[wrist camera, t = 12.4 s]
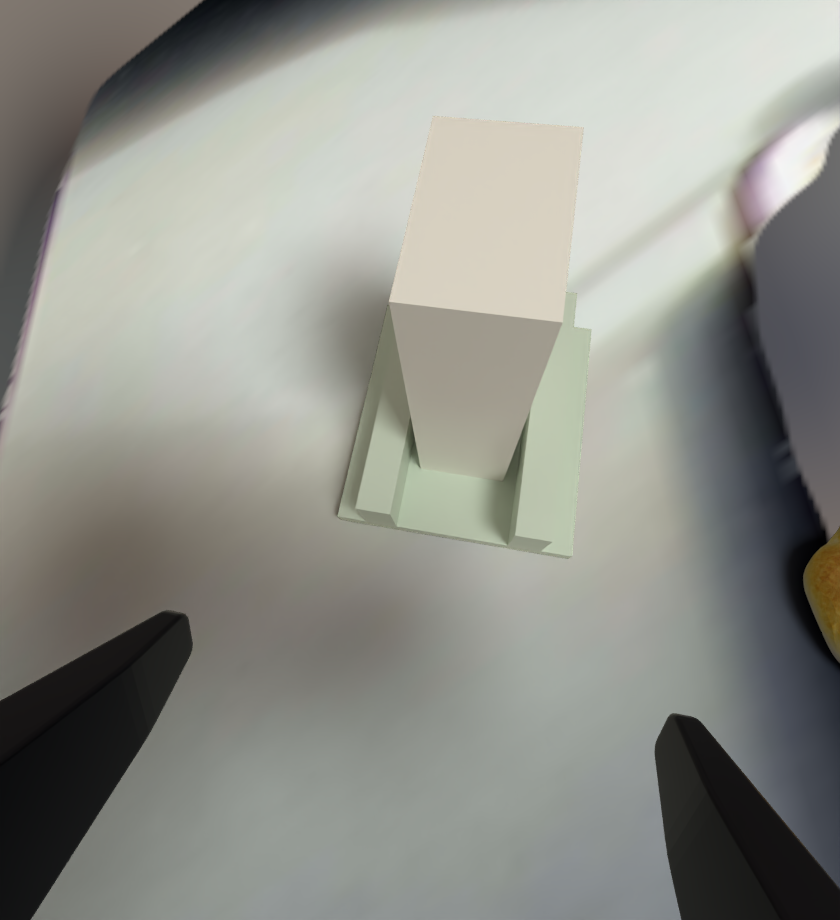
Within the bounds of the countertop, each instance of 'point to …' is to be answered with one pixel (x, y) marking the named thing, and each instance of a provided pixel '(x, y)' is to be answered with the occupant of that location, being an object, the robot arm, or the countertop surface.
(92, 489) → the countertop surface
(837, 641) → the bread roll
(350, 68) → the countertop surface
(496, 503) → the tile rack
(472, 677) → the countertop surface
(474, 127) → the beige rectangular box
